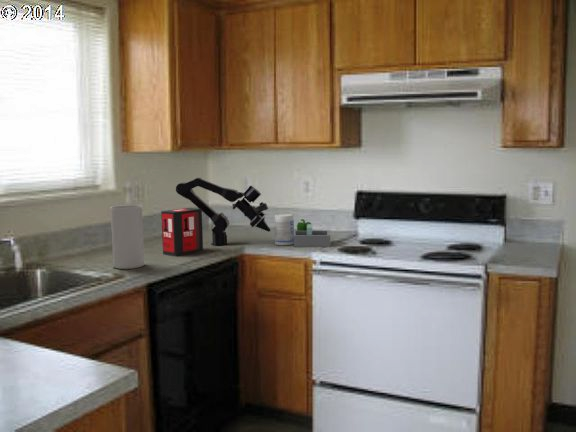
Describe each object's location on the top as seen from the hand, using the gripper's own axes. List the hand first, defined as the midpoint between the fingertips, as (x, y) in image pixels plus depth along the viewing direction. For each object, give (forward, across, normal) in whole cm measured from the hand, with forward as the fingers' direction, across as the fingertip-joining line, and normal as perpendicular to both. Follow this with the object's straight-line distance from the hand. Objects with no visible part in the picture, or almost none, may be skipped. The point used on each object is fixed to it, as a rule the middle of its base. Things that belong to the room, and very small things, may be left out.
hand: (269, 230), depth 301 cm
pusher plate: (+19, 0, -9) cm, 21 cm away
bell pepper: (+16, +22, -6) cm, 28 cm away
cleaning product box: (-23, -22, +32) cm, 45 cm away
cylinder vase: (-34, -53, +43) cm, 76 cm away
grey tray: (+19, 0, -9) cm, 21 cm away
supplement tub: (+10, 0, 0) cm, 10 cm away
